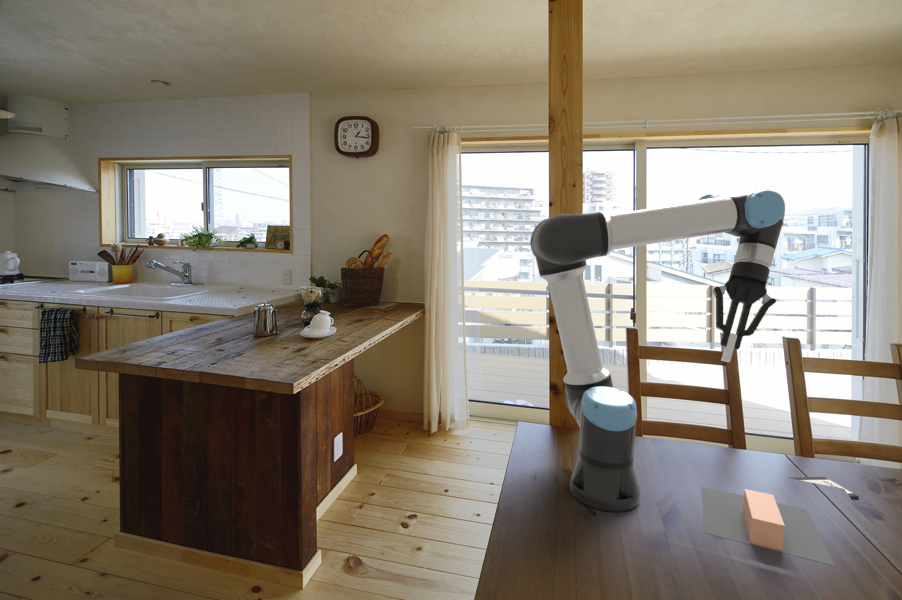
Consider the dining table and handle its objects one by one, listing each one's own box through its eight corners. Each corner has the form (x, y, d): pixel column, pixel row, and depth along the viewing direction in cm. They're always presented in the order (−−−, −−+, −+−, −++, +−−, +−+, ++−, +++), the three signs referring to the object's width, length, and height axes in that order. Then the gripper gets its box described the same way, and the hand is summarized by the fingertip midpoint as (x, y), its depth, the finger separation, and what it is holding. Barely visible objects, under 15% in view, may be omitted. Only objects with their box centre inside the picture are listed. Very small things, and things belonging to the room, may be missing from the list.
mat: (704, 535, 90) (705, 532, 90) (701, 488, 107) (701, 486, 107) (834, 568, 81) (834, 565, 81) (806, 511, 98) (806, 509, 98)
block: (742, 511, 97) (750, 543, 87) (744, 488, 97) (752, 518, 86) (770, 517, 95) (782, 551, 84) (773, 494, 95) (784, 525, 84)
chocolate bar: (754, 478, 112) (824, 476, 113) (754, 481, 112) (824, 480, 113) (783, 497, 103) (858, 496, 104) (782, 501, 103) (858, 500, 104)
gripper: (779, 275, 109) (753, 370, 107) (718, 263, 114) (693, 354, 113) (788, 267, 102) (761, 369, 101) (723, 255, 107) (696, 351, 106)
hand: (725, 361), depth 107 cm, fingers closed
